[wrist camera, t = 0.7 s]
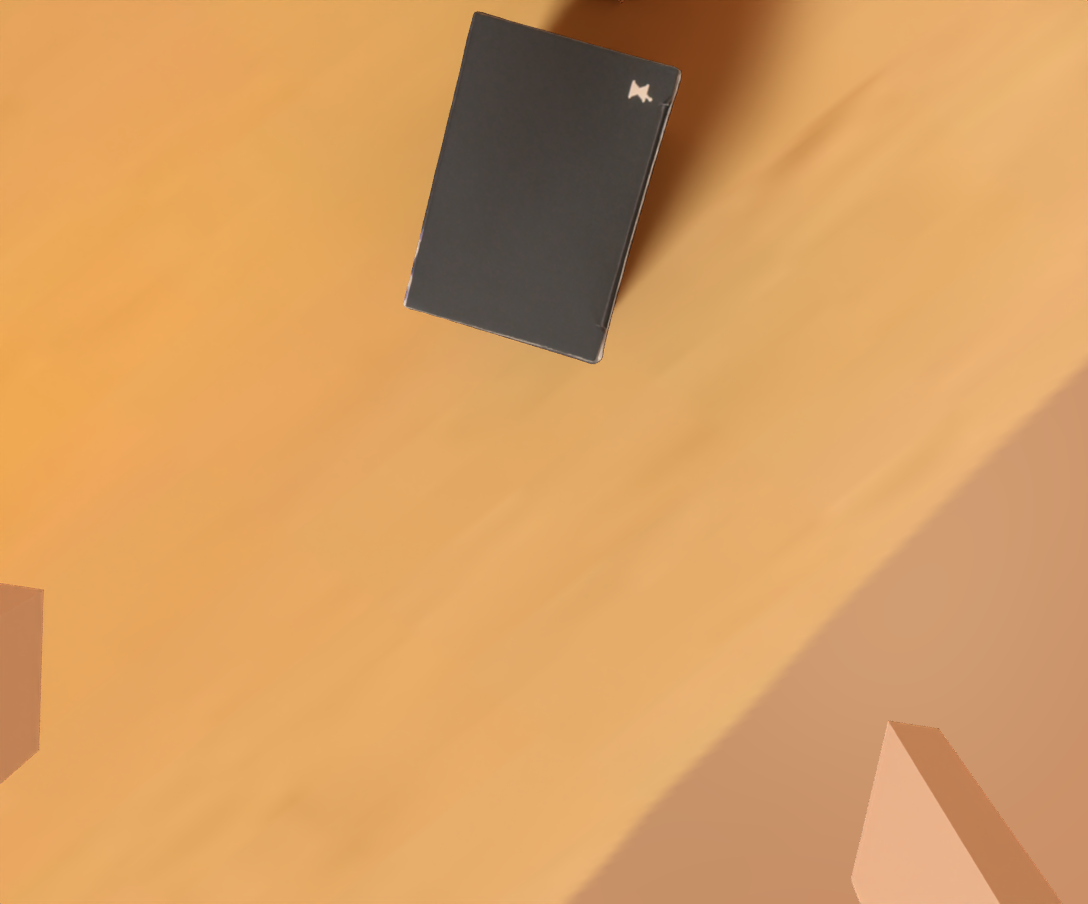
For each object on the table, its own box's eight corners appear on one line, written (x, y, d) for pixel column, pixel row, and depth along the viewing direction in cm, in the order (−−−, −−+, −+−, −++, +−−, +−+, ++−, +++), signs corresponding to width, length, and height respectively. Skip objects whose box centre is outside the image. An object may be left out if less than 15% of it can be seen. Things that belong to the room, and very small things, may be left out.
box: (509, 77, 34) (472, 1, 24) (662, 121, 34) (692, 65, 24) (454, 292, 36) (396, 310, 25) (600, 334, 36) (602, 369, 25)
